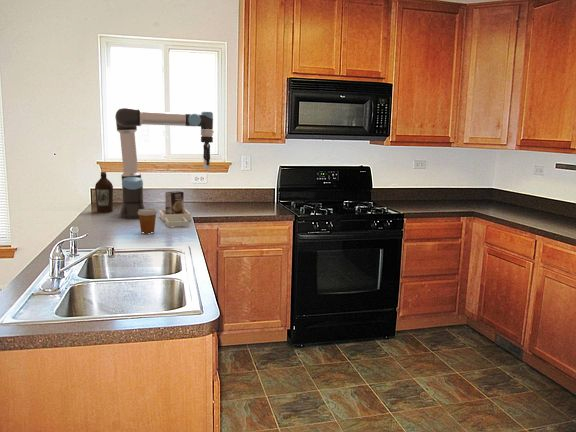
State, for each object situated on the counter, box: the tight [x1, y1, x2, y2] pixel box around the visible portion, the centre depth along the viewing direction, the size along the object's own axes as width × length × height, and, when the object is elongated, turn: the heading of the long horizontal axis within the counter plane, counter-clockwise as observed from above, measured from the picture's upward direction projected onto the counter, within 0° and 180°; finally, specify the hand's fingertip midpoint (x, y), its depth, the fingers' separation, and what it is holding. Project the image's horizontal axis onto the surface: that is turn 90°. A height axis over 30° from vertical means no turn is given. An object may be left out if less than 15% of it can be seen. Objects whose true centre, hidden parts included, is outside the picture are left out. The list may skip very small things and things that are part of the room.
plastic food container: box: [158, 208, 192, 222], centre depth 296 cm, size 16×17×4 cm
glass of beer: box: [138, 208, 158, 233], centre depth 254 cm, size 10×10×12 cm
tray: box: [164, 217, 189, 228], centre depth 278 cm, size 11×14×3 cm
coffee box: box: [164, 190, 185, 214], centre depth 295 cm, size 9×6×16 cm
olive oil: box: [94, 171, 114, 213], centre depth 312 cm, size 11×11×25 cm
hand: (206, 169), depth 321 cm, fingers open, 13 cm apart
